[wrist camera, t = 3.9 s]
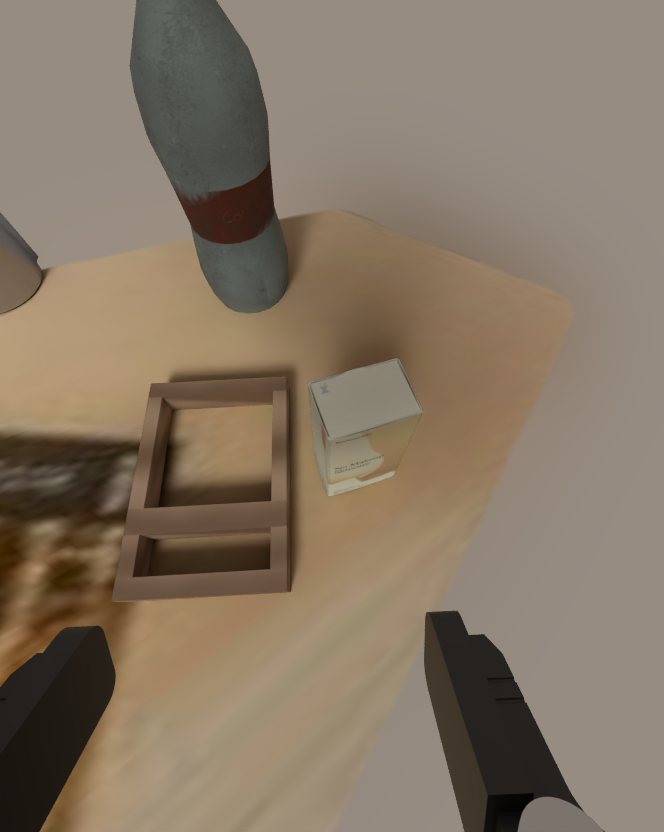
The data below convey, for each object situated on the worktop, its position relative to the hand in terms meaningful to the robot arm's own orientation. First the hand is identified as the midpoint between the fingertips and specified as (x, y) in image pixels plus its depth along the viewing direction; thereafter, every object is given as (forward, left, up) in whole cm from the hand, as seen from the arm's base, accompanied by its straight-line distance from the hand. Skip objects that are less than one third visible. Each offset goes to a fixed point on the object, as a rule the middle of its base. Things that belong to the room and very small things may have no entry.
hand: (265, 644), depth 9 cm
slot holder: (-11, -8, -21) cm, 25 cm away
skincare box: (-12, +4, -22) cm, 25 cm away
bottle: (-34, -6, -22) cm, 41 cm away
